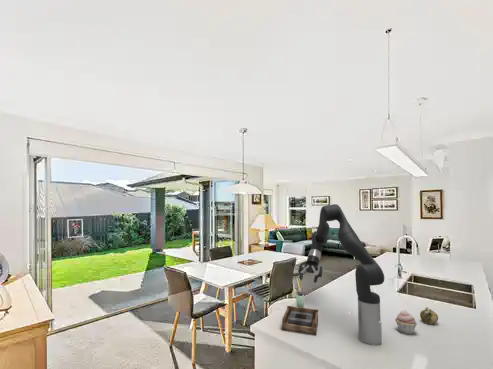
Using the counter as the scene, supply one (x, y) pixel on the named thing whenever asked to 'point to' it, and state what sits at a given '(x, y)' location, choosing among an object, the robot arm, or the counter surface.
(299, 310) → the box
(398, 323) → the cupcake
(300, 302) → the mint green cylinder
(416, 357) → the counter surface
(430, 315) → the olive green pumpkin
